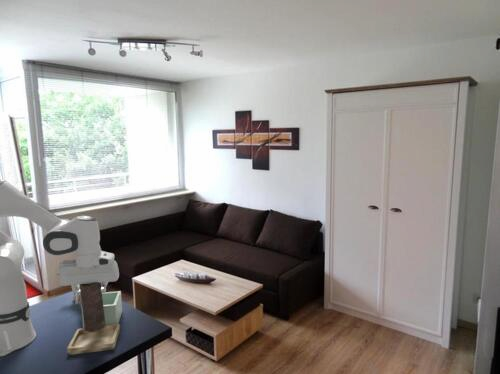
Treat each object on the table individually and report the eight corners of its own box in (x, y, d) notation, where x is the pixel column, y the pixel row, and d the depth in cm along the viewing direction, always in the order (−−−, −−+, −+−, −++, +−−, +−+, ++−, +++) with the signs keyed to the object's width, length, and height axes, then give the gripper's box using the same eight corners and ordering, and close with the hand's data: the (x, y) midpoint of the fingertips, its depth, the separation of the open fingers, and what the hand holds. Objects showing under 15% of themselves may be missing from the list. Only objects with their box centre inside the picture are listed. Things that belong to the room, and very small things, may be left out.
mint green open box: (83, 331, 137) (81, 308, 135) (91, 314, 149) (89, 293, 148) (117, 327, 139) (115, 305, 138) (122, 311, 152) (120, 291, 151)
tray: (67, 355, 122) (67, 348, 122) (78, 334, 135) (77, 328, 134) (114, 349, 125) (113, 343, 125) (120, 329, 138) (119, 324, 137)
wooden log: (97, 336, 125) (92, 285, 122) (80, 334, 126) (74, 284, 123) (109, 324, 132) (105, 276, 129) (93, 323, 134) (88, 275, 130)
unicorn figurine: (72, 293, 170) (69, 268, 168) (97, 302, 160) (94, 276, 158) (58, 299, 164) (55, 273, 162) (83, 309, 154) (80, 282, 152)
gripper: (55, 264, 120) (58, 300, 122) (115, 259, 124) (118, 294, 126) (61, 257, 126) (64, 292, 128) (118, 253, 130) (121, 287, 132)
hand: (91, 293), depth 127 cm, fingers closed on wooden log, 7 cm apart
